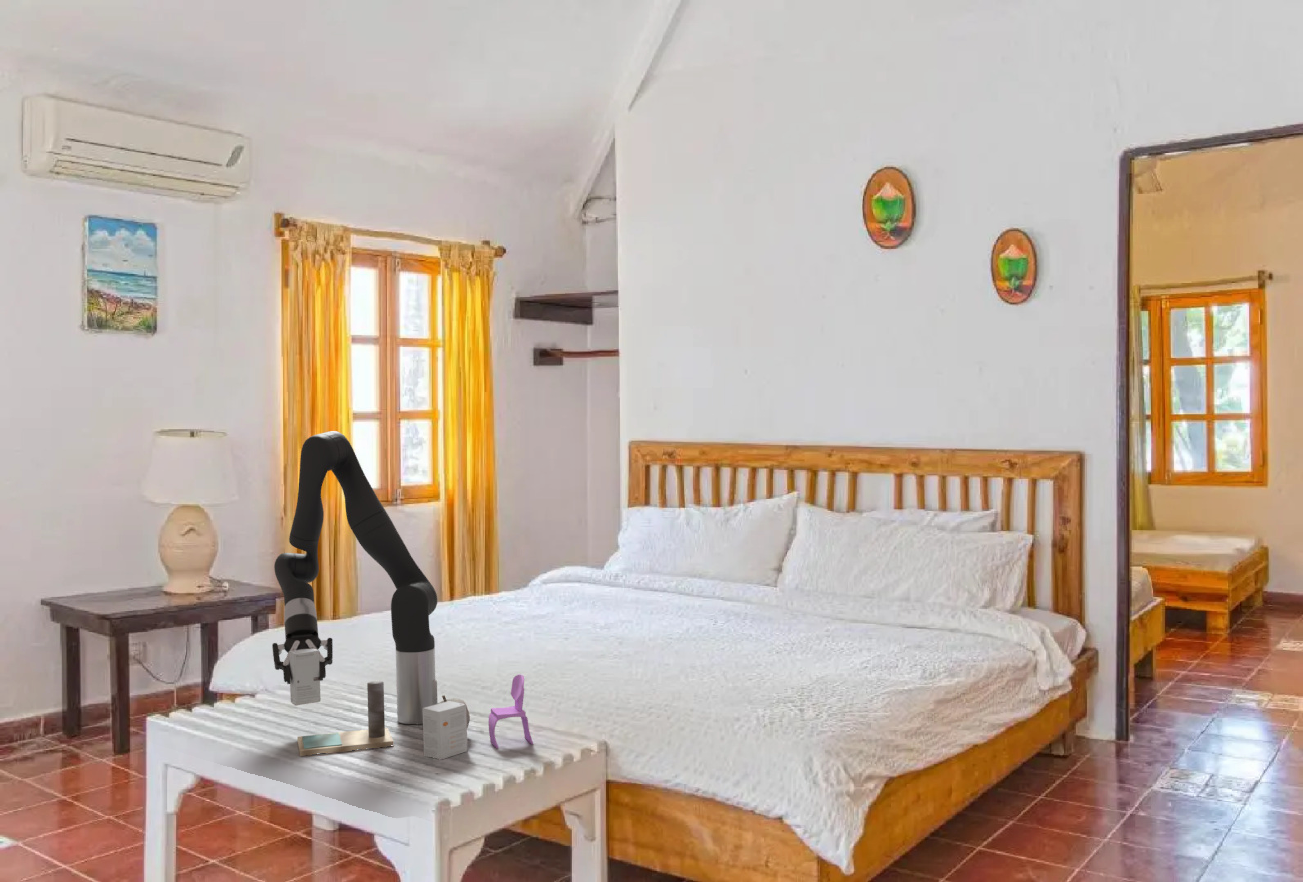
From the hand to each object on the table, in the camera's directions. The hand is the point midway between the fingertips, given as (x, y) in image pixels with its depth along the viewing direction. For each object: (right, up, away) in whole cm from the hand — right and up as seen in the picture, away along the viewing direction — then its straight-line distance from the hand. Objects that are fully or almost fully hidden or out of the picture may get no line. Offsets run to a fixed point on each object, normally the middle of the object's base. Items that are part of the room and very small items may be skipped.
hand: (305, 680), depth 280 cm
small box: (+35, -13, -17) cm, 41 cm away
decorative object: (+34, -12, -5) cm, 37 cm away
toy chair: (+49, -12, -9) cm, 51 cm away
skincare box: (0, -6, +2) cm, 6 cm away
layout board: (+11, -13, -8) cm, 19 cm away
